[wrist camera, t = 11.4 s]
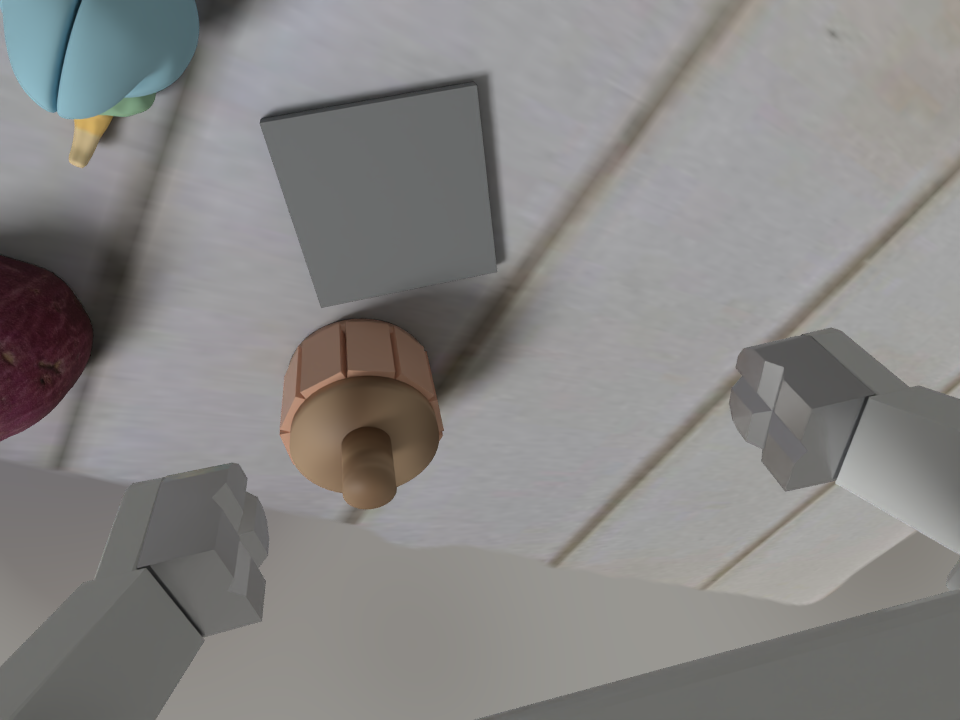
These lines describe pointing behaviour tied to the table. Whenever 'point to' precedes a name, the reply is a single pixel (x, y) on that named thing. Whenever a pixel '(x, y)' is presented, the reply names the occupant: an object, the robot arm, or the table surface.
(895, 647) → the robot arm
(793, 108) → the table surface
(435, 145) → the mat
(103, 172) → the table surface
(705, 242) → the table surface
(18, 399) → the vegetable
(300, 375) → the faceted hollow tube
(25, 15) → the toy flower bud
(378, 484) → the lid
